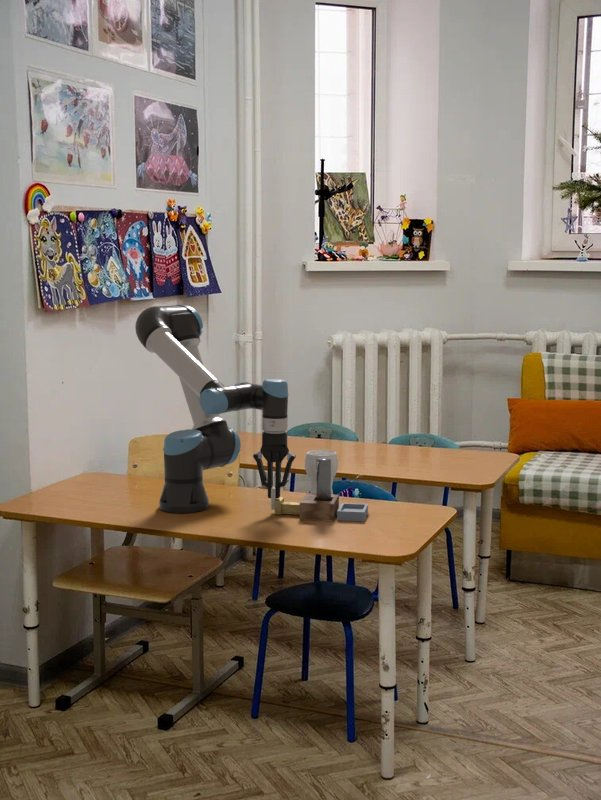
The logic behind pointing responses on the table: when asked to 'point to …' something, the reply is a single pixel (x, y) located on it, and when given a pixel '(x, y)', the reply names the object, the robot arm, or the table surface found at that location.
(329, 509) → the socket block
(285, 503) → the bar
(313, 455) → the cup
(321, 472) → the grey metal bar
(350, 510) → the grey open tray
